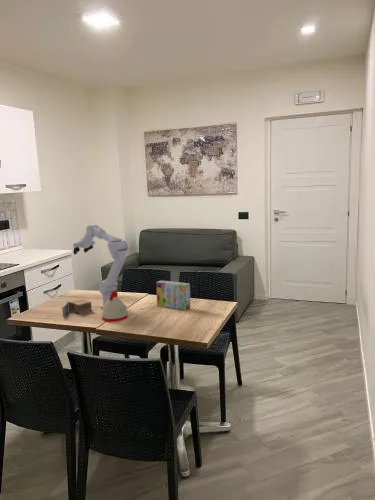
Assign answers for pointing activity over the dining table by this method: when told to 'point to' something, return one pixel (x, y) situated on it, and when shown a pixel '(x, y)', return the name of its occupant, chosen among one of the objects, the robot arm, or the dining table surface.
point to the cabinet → (80, 306)
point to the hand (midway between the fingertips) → (79, 252)
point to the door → (65, 308)
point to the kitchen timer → (114, 309)
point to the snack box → (173, 294)
